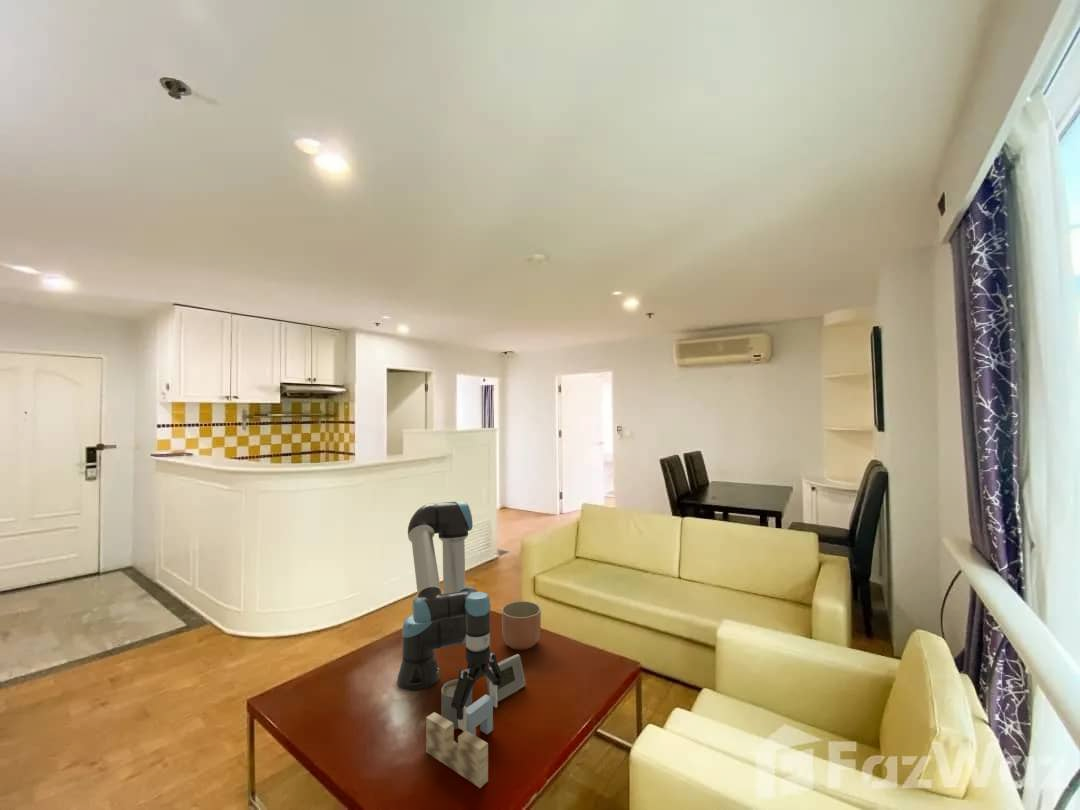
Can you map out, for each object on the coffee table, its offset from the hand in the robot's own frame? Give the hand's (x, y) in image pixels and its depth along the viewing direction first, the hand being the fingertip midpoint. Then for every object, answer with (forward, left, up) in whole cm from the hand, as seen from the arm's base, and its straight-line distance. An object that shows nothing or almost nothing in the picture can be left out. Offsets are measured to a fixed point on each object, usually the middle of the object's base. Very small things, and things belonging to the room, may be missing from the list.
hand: (478, 716), depth 138 cm
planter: (-25, +52, -7) cm, 58 cm away
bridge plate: (0, 0, -6) cm, 6 cm away
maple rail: (+3, -12, -6) cm, 14 cm away
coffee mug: (-13, +3, -7) cm, 15 cm away
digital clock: (-8, +22, -7) cm, 24 cm away
